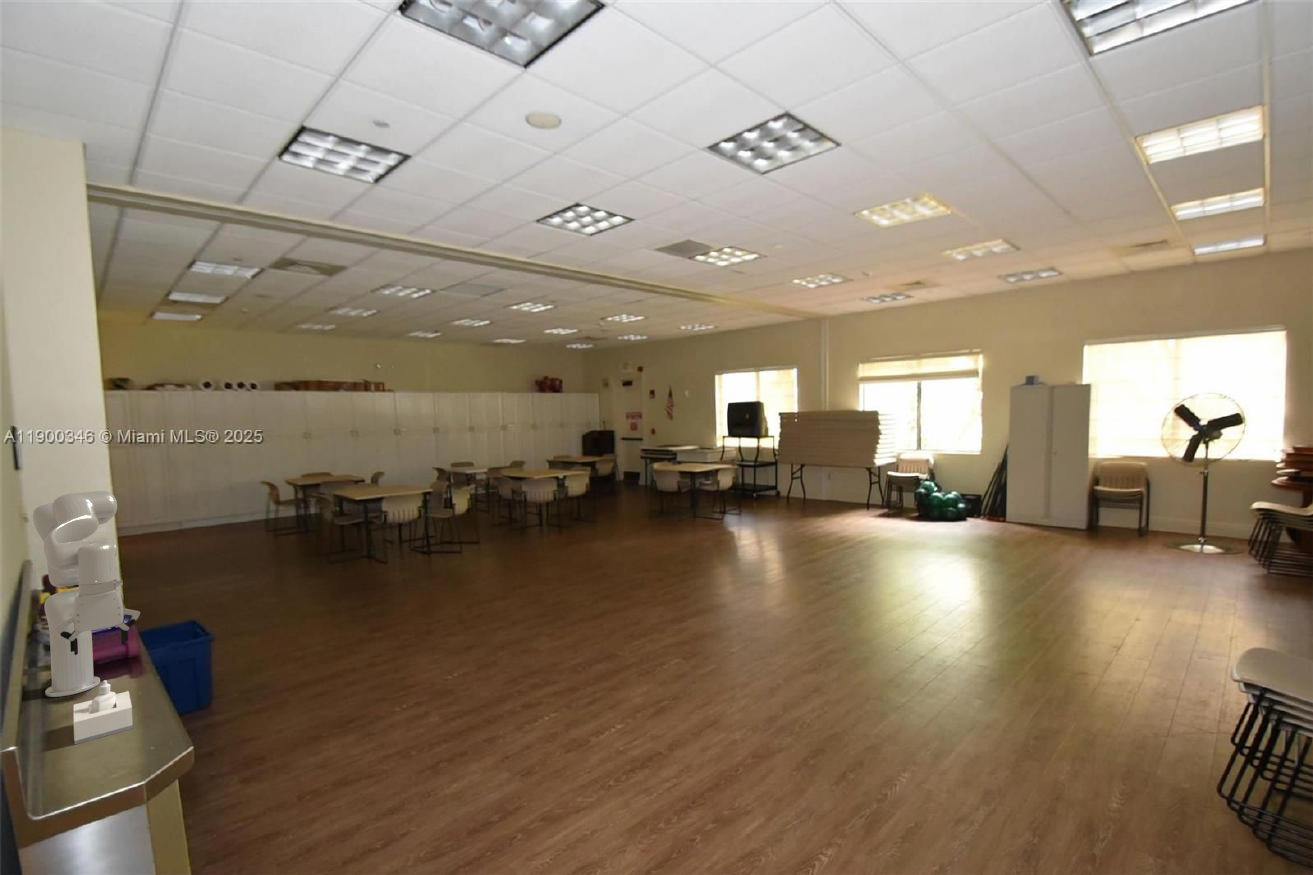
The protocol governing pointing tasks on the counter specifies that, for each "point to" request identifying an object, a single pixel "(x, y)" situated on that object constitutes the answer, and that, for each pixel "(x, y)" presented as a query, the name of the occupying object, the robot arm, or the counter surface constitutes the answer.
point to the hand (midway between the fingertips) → (100, 648)
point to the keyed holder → (102, 719)
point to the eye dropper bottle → (103, 699)
